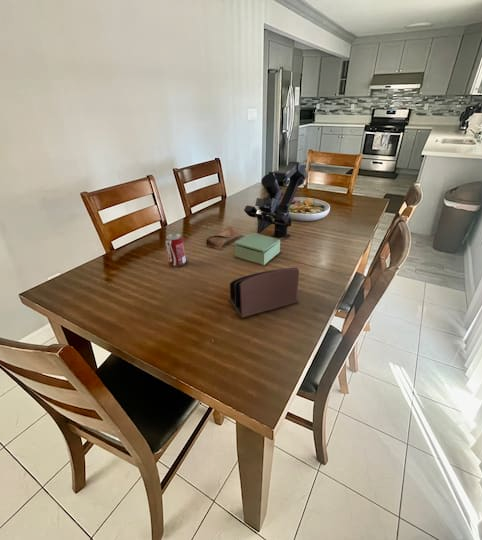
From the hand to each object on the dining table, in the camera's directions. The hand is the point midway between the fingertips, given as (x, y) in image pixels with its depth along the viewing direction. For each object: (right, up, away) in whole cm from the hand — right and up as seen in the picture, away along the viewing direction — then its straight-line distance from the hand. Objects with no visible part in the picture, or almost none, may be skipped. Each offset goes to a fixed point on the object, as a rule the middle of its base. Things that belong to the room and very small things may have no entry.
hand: (258, 233), depth 120 cm
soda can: (-33, -13, 0) cm, 35 cm away
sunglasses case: (-15, -1, +18) cm, 24 cm away
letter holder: (+1, -26, -23) cm, 35 cm away
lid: (0, -4, +2) cm, 4 cm away
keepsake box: (0, -9, +5) cm, 10 cm away
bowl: (+27, +17, +49) cm, 58 cm away
